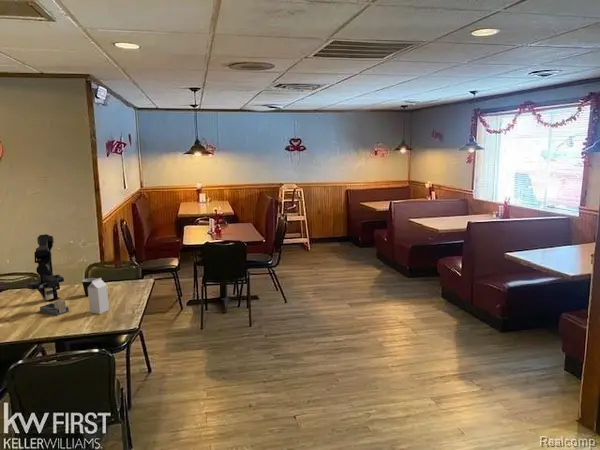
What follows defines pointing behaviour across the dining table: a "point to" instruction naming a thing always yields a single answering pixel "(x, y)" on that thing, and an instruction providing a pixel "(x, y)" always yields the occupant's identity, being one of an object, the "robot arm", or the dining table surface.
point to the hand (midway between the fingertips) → (47, 296)
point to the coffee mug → (87, 285)
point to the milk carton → (98, 296)
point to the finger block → (48, 293)
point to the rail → (51, 311)
